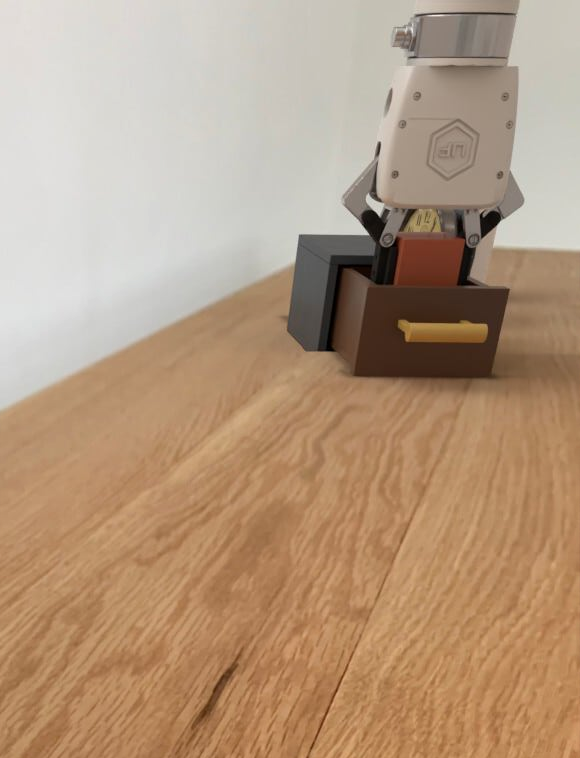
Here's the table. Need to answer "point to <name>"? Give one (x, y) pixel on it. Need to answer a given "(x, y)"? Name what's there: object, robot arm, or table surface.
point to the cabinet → (322, 283)
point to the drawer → (415, 326)
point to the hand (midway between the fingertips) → (415, 293)
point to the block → (428, 258)
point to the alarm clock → (430, 222)
